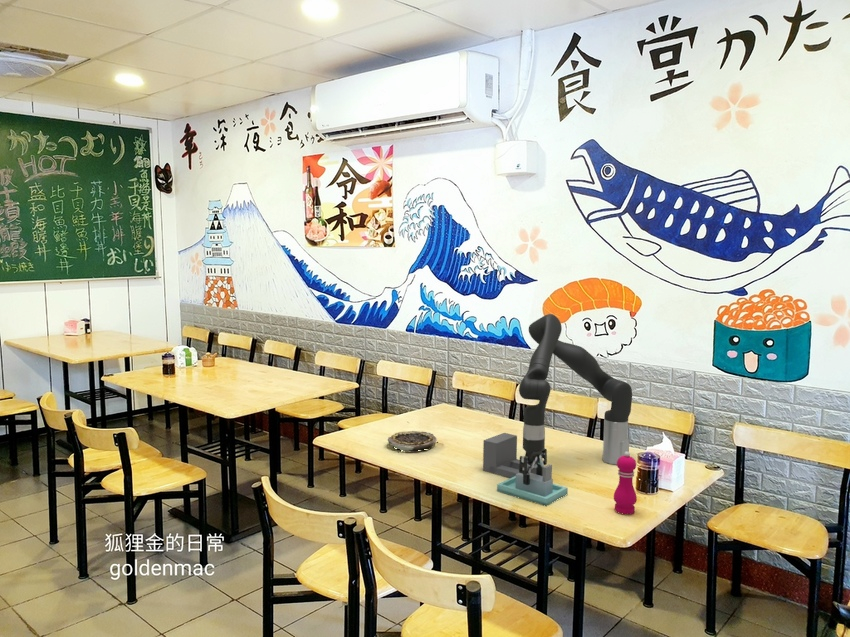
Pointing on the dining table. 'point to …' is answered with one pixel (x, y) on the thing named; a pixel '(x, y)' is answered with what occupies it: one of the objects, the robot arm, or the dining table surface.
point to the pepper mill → (625, 485)
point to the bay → (502, 455)
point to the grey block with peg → (537, 482)
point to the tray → (510, 489)
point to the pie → (412, 440)
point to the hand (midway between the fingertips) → (532, 481)
